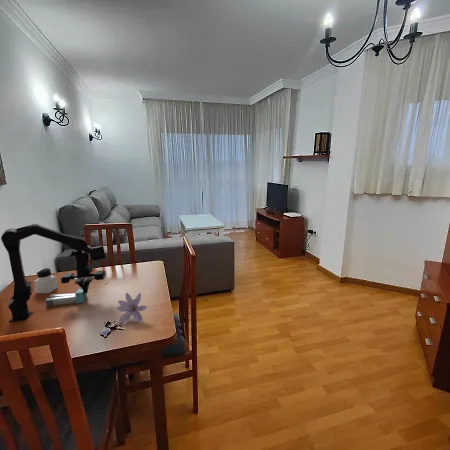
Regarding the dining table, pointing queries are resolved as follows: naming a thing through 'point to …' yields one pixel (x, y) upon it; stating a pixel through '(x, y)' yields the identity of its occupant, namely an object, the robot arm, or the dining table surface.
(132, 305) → the purple flower
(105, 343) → the dining table surface
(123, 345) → the dining table surface
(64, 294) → the tong arm
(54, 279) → the medicine bottle
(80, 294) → the teal notched block
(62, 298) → the tong frame
